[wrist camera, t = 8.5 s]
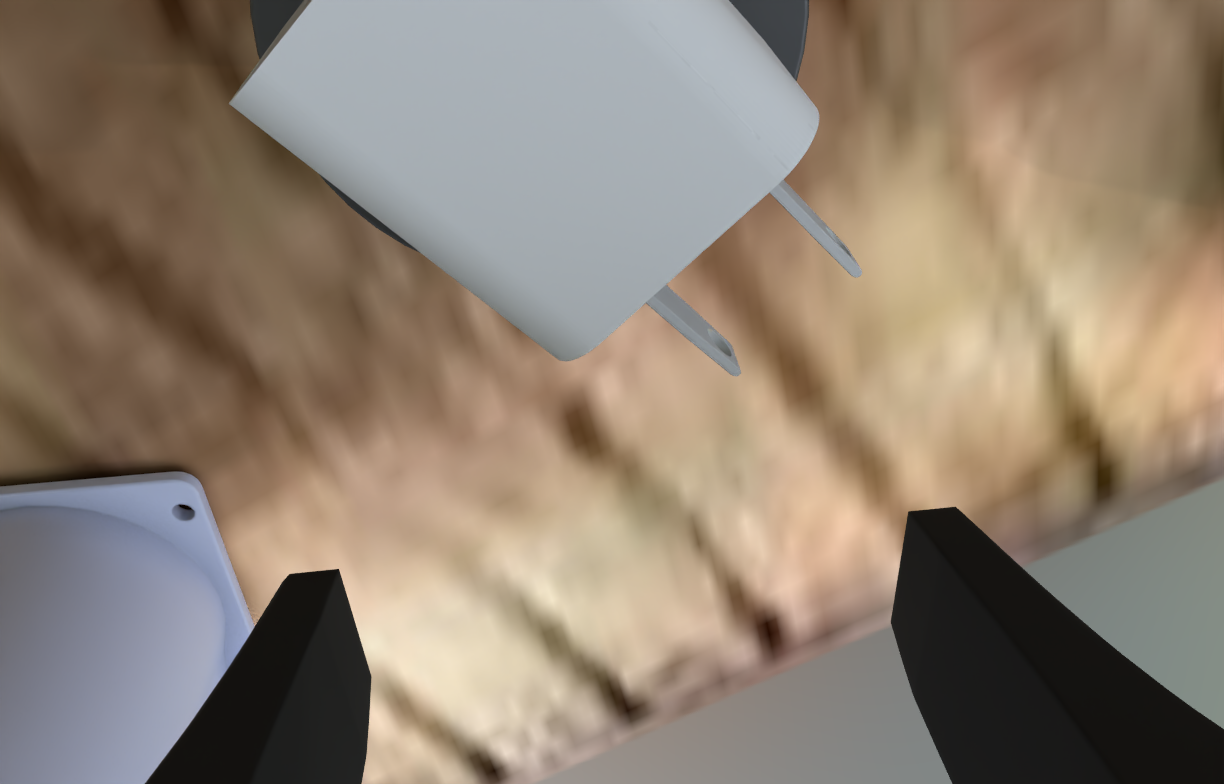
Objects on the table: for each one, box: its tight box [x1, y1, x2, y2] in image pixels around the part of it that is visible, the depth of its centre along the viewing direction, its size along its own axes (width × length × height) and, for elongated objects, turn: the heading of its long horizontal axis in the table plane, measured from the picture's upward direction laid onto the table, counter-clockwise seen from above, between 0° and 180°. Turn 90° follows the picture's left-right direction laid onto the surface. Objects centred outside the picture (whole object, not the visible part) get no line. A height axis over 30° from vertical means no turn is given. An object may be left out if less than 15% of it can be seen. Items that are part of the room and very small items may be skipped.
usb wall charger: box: [229, 0, 862, 376], centre depth 11 cm, size 4×7×4 cm, turn 45°
